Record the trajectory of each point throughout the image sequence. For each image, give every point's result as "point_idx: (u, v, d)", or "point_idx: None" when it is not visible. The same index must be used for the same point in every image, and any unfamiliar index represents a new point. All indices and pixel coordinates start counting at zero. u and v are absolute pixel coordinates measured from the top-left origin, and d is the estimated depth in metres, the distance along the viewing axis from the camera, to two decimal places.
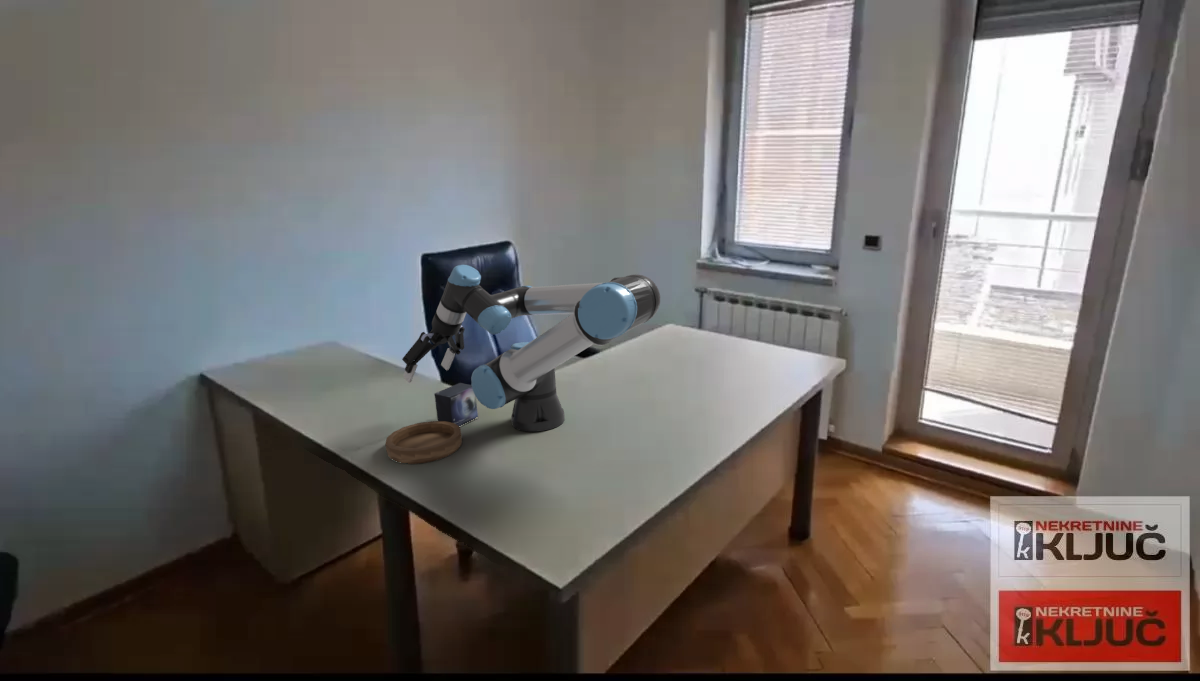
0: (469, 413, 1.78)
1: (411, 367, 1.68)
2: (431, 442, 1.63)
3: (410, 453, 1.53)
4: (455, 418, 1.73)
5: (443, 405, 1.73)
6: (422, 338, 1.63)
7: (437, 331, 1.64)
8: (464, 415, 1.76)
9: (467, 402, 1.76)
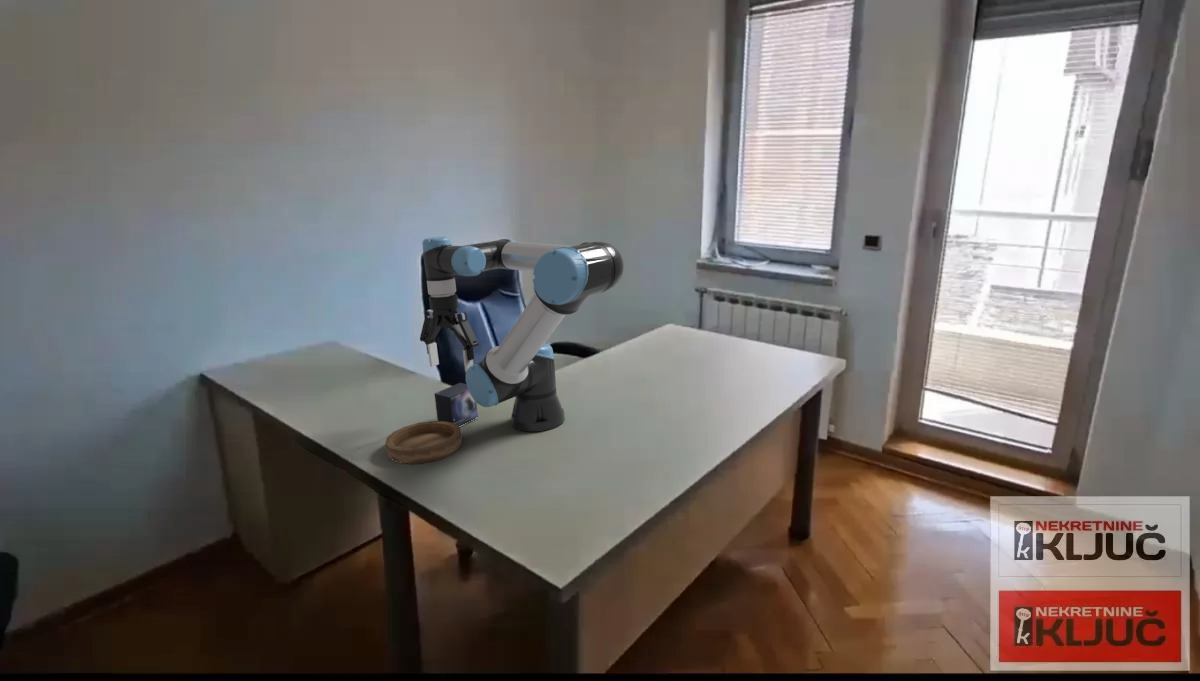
0: (469, 413, 1.78)
1: (428, 347, 1.76)
2: (431, 442, 1.63)
3: (410, 453, 1.53)
4: (455, 418, 1.73)
5: (443, 405, 1.73)
6: None
7: None
8: (464, 415, 1.76)
9: (467, 402, 1.76)
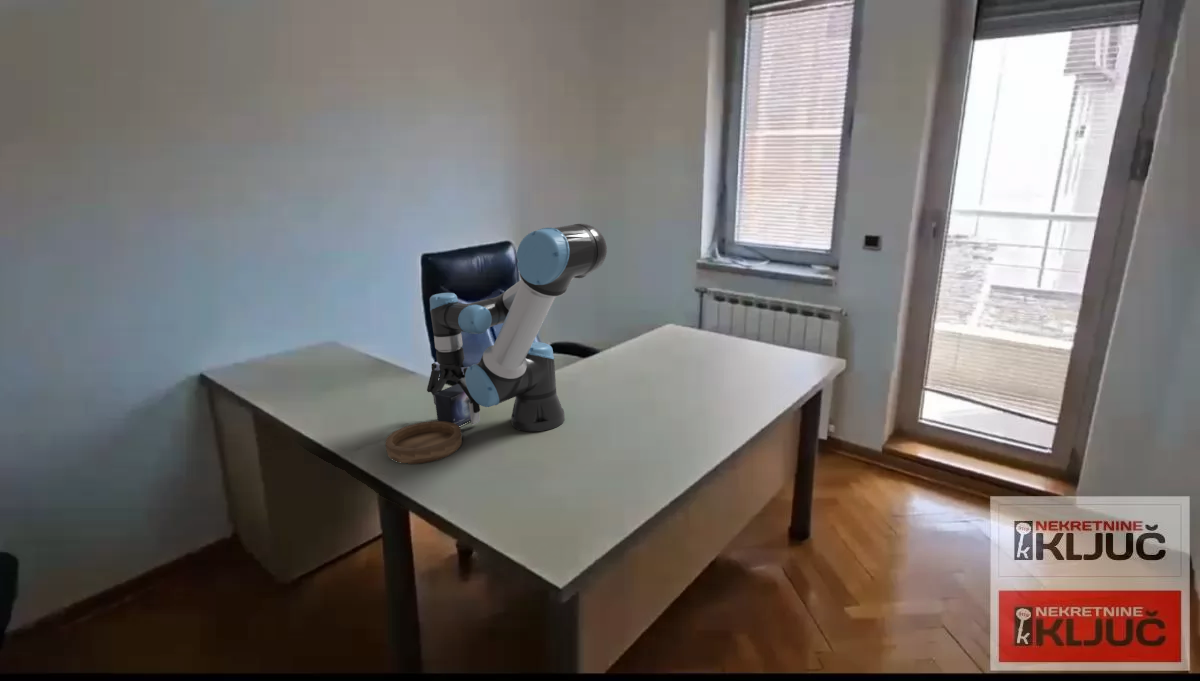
0: (469, 413, 1.78)
1: None
2: (431, 442, 1.63)
3: (410, 453, 1.53)
4: (455, 418, 1.73)
5: (443, 405, 1.73)
6: None
7: None
8: (464, 415, 1.76)
9: (467, 402, 1.76)
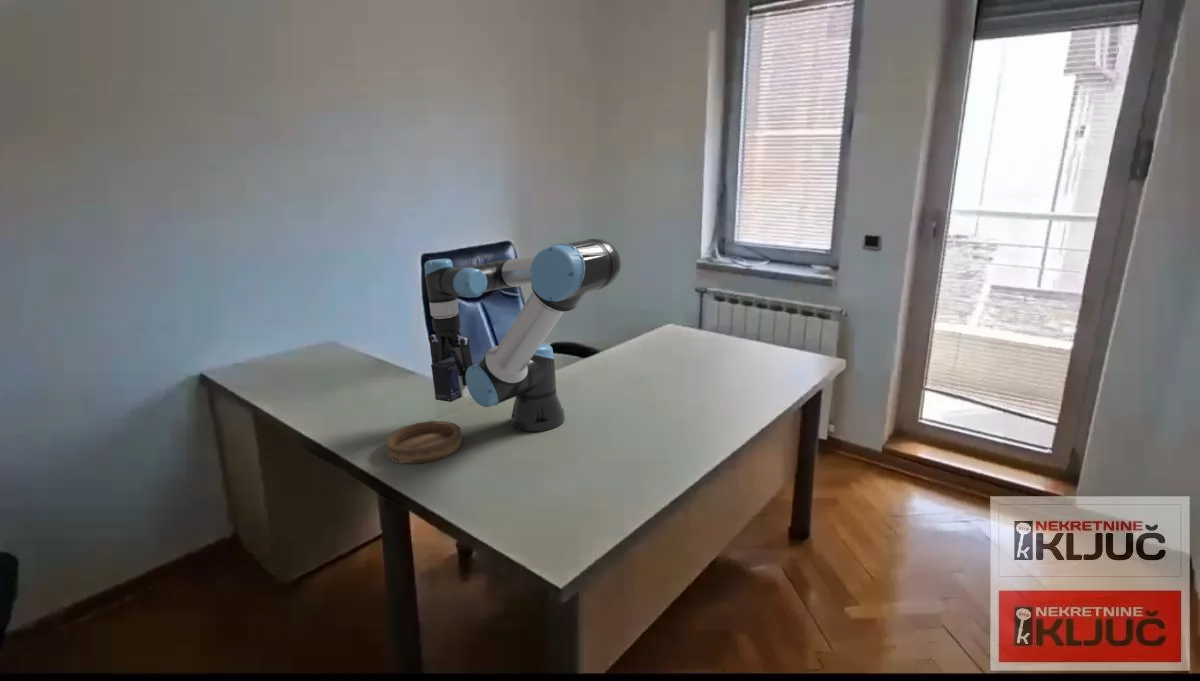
0: None
1: None
2: (431, 442, 1.63)
3: (410, 453, 1.53)
4: (453, 389, 1.71)
5: (440, 376, 1.70)
6: None
7: None
8: None
9: None
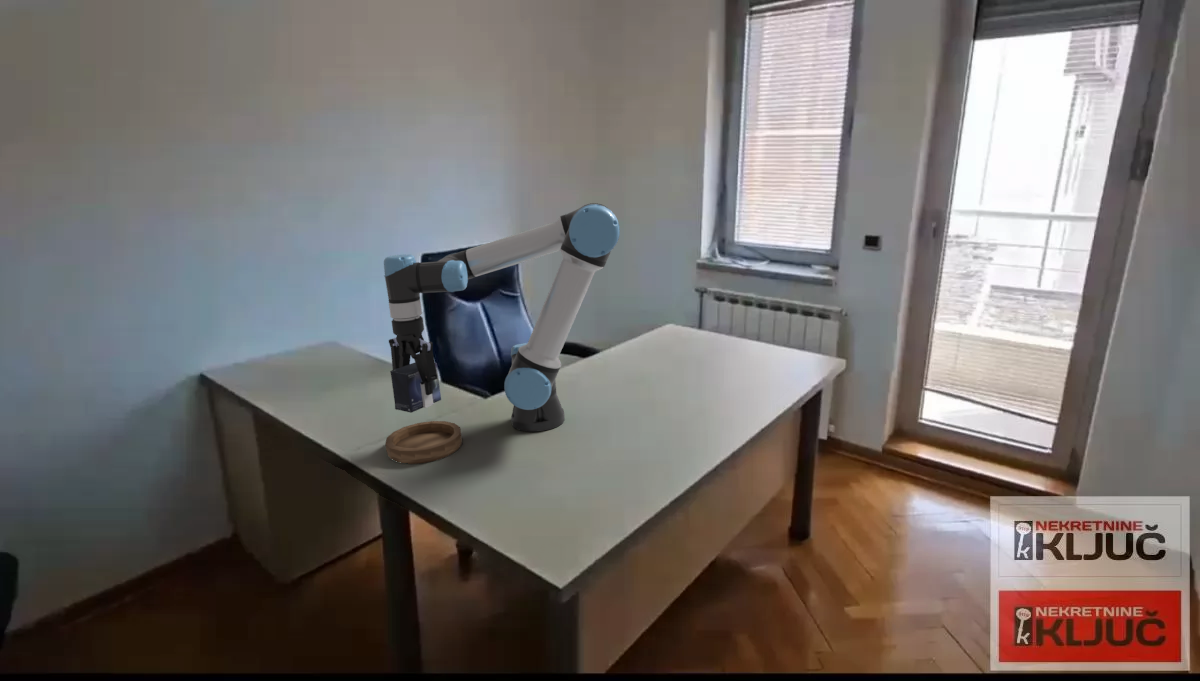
0: None
1: None
2: (431, 442, 1.63)
3: (410, 453, 1.53)
4: (414, 398, 1.55)
5: (400, 384, 1.54)
6: None
7: None
8: None
9: None
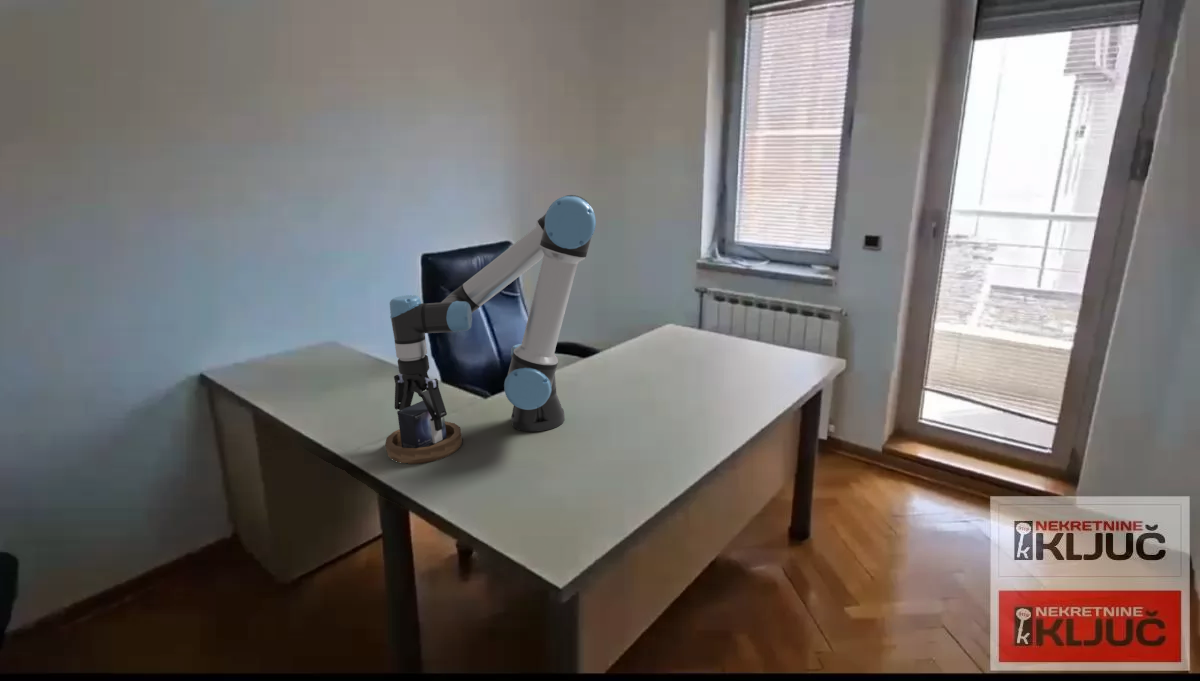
0: None
1: None
2: None
3: (410, 453, 1.53)
4: (420, 439, 1.57)
5: (406, 424, 1.57)
6: None
7: None
8: (430, 435, 1.60)
9: None
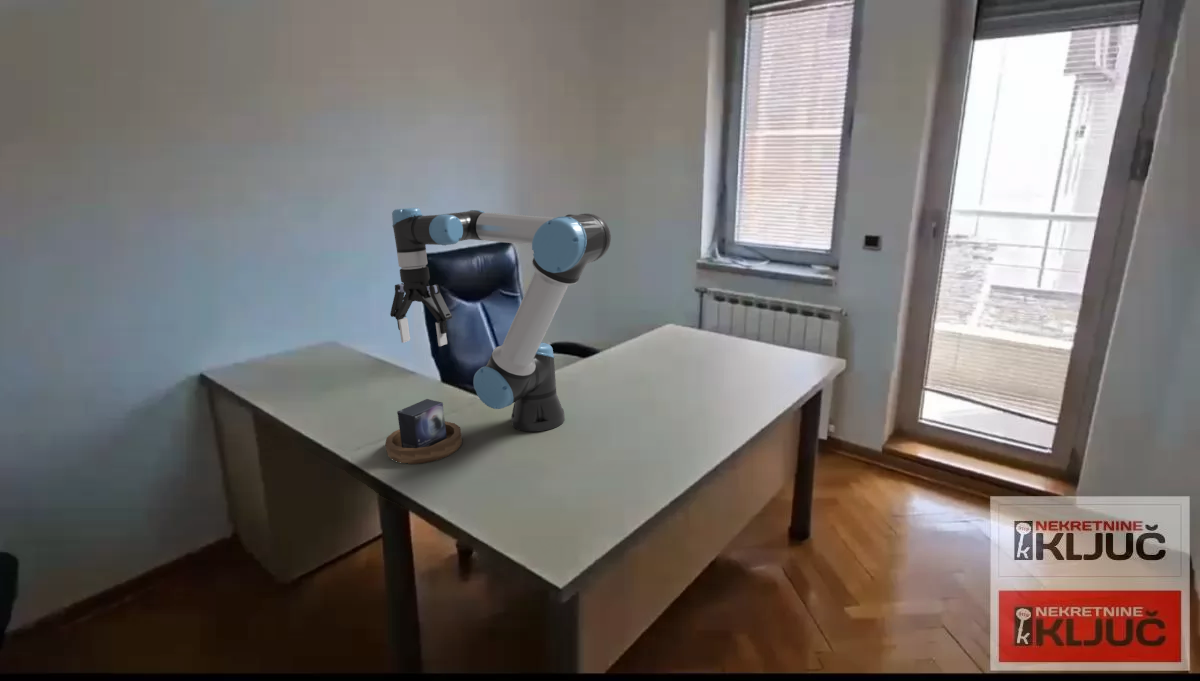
0: (437, 433, 1.62)
1: (399, 322, 1.73)
2: None
3: (410, 453, 1.53)
4: (420, 439, 1.57)
5: (406, 424, 1.57)
6: None
7: None
8: (430, 435, 1.60)
9: (433, 421, 1.60)
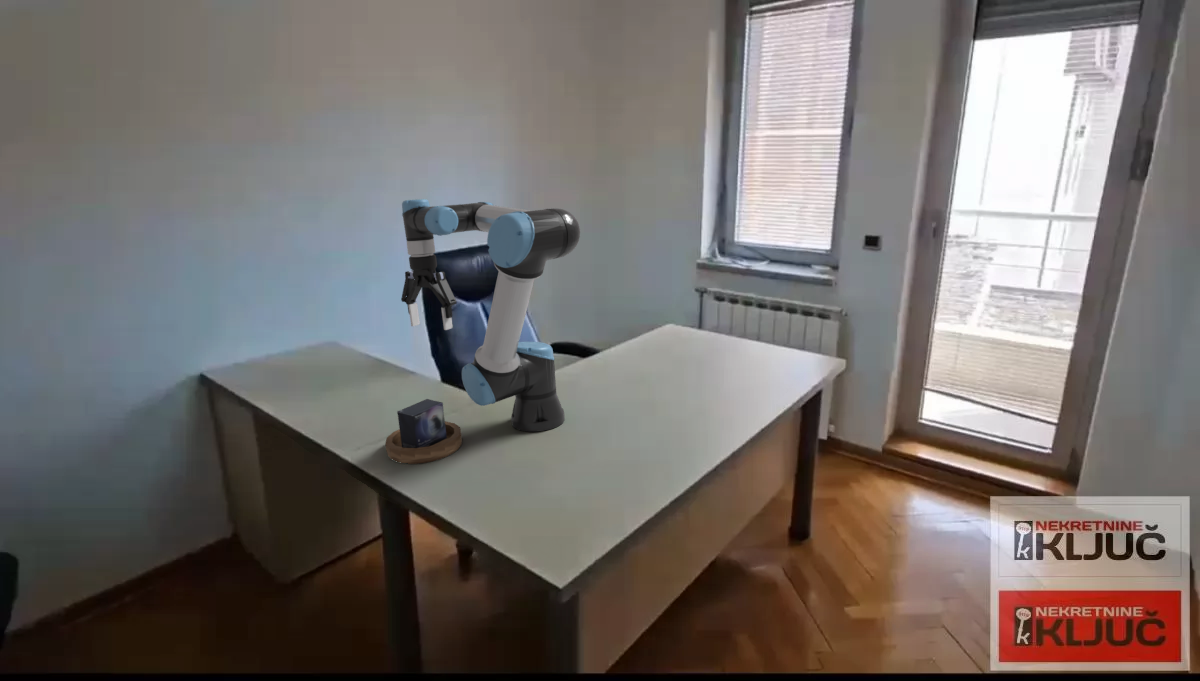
0: (437, 433, 1.62)
1: (409, 307, 1.83)
2: None
3: (410, 453, 1.53)
4: (420, 439, 1.57)
5: (406, 424, 1.57)
6: None
7: None
8: (430, 435, 1.60)
9: (433, 421, 1.60)
